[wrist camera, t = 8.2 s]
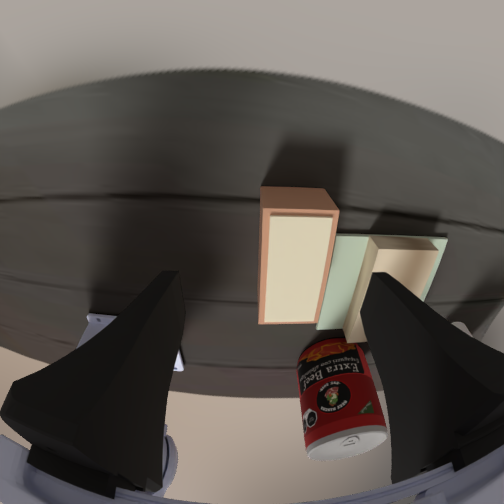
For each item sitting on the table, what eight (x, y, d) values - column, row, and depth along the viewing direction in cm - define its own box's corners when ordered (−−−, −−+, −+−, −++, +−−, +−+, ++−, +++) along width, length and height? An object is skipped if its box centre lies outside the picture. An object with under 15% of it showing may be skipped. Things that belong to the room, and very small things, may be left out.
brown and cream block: (257, 291, 24) (258, 326, 20) (260, 186, 19) (263, 209, 16) (309, 290, 24) (318, 324, 20) (324, 188, 19) (340, 211, 16)
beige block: (342, 327, 26) (347, 343, 24) (369, 235, 20) (378, 249, 19) (393, 324, 26) (400, 338, 24) (427, 238, 21) (439, 250, 19)
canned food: (356, 325, 26) (387, 423, 17) (366, 364, 30) (389, 444, 21) (284, 350, 28) (294, 449, 19) (306, 384, 32) (318, 465, 22)
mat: (316, 326, 26) (316, 329, 26) (335, 233, 21) (336, 236, 20) (412, 319, 26) (413, 322, 26) (445, 237, 21) (447, 239, 21)
